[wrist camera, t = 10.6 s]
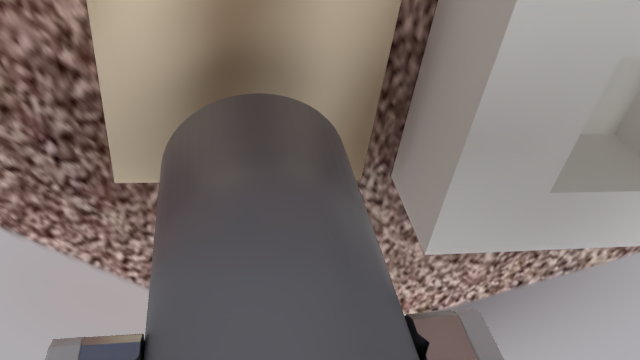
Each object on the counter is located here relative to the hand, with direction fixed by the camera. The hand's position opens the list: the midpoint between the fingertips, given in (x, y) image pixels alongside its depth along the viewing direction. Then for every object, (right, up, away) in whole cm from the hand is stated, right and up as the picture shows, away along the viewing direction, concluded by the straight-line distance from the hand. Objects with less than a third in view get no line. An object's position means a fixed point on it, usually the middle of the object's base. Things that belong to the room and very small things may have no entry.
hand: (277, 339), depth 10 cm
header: (+12, +8, +12) cm, 19 cm away
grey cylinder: (-1, +3, +4) cm, 5 cm away
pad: (-2, +8, +9) cm, 12 cm away
